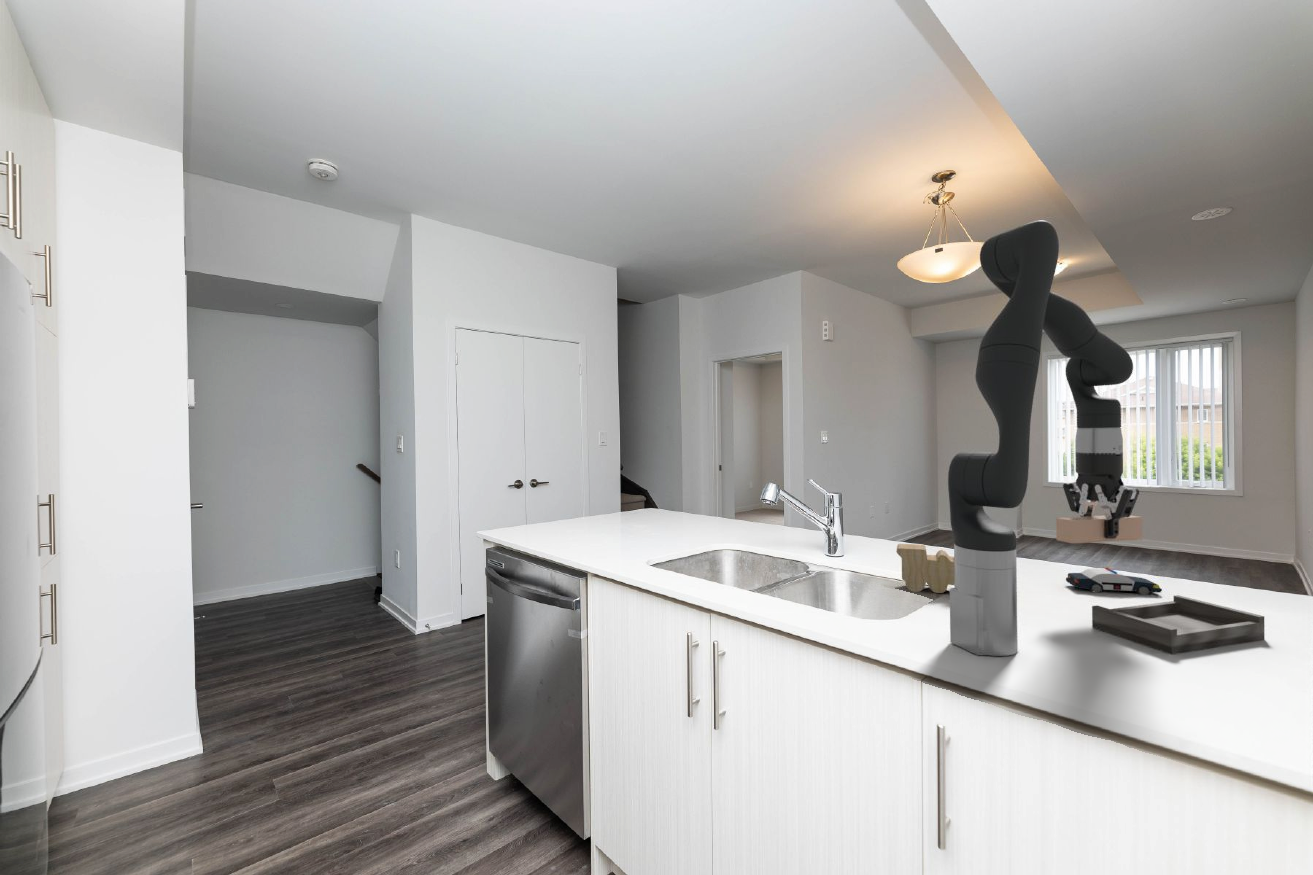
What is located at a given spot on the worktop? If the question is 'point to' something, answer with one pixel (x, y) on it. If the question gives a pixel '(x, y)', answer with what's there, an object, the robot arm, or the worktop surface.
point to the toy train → (925, 568)
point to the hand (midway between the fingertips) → (1099, 535)
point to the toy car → (1111, 581)
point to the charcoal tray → (1180, 624)
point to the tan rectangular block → (1096, 529)
